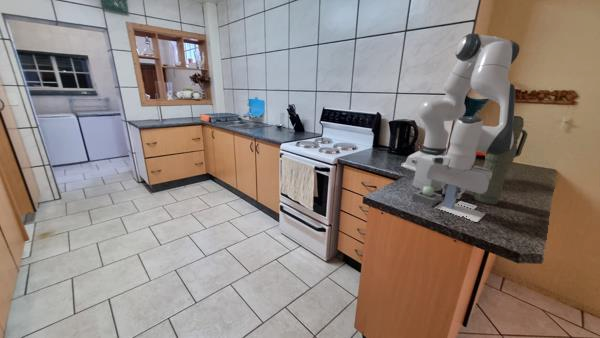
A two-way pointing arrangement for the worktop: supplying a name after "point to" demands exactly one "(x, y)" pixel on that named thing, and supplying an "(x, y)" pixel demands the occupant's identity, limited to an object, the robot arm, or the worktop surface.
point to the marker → (450, 196)
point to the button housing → (427, 198)
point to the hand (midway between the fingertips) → (451, 195)
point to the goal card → (467, 205)
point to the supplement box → (420, 174)
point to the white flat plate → (462, 212)
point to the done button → (428, 191)
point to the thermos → (501, 165)
